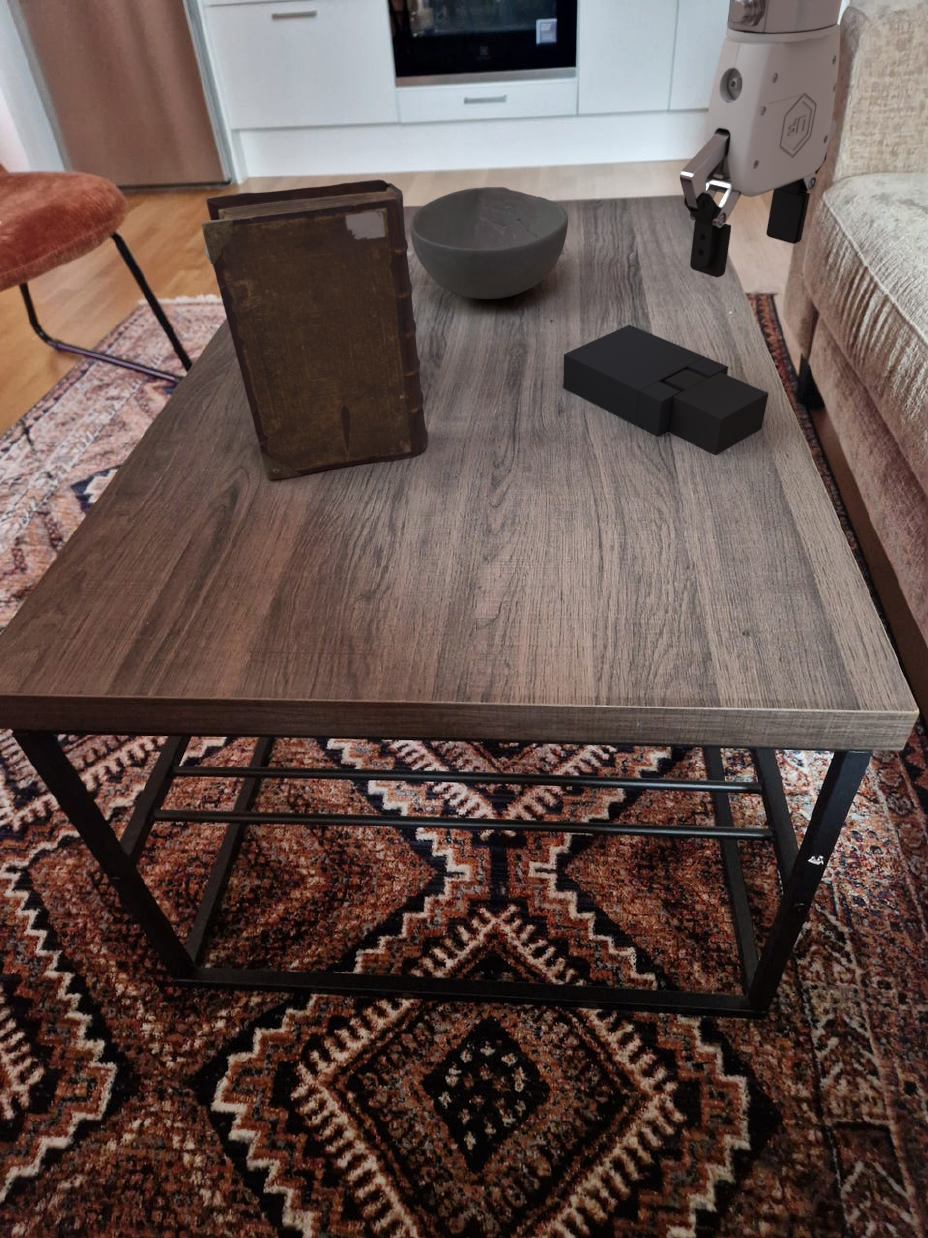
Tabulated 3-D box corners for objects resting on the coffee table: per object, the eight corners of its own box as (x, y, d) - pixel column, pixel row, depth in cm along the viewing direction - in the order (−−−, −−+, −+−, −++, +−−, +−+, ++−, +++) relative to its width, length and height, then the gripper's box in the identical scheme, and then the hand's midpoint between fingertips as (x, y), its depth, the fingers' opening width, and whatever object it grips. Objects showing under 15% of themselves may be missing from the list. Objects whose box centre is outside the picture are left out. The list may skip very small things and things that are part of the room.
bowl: (395, 318, 109) (385, 239, 102) (443, 257, 123) (437, 183, 116) (548, 329, 104) (548, 246, 97) (580, 264, 118) (582, 187, 111)
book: (428, 429, 89) (400, 173, 72) (432, 467, 84) (403, 200, 67) (270, 445, 89) (204, 192, 72) (264, 484, 84) (192, 221, 67)
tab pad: (761, 428, 85) (769, 392, 82) (715, 455, 82) (721, 419, 80) (694, 397, 90) (698, 362, 88) (648, 421, 88) (651, 386, 85)
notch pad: (723, 401, 89) (728, 366, 87) (657, 436, 85) (661, 401, 83) (626, 357, 98) (629, 324, 95) (563, 387, 94) (563, 353, 91)
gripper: (746, 34, 54) (711, 299, 66) (904, -9, 61) (847, 237, 73) (658, 24, 58) (640, 273, 70) (814, -15, 65) (775, 218, 77)
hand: (745, 255), depth 71 cm, fingers open, 9 cm apart
